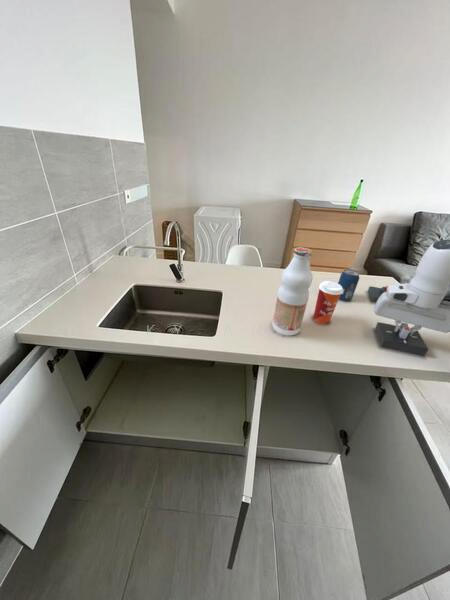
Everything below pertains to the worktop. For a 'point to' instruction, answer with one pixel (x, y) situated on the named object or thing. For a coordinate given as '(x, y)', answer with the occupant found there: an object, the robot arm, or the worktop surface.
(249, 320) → the worktop surface
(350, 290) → the soda can
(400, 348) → the timer panel
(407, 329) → the timer knob
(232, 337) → the worktop surface
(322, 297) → the paper cup
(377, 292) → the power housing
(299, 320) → the fruit juice
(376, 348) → the worktop surface
